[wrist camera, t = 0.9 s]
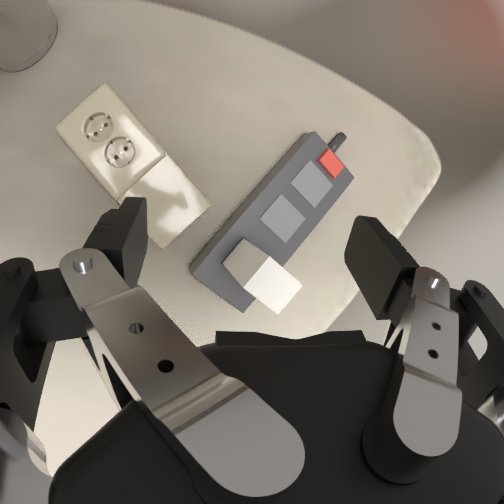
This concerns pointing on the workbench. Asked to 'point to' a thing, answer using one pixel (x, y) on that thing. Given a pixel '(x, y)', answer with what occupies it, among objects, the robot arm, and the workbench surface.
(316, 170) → the power strip
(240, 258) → the block
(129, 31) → the workbench surface
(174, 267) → the workbench surface
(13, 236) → the workbench surface
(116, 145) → the electrical outlet
